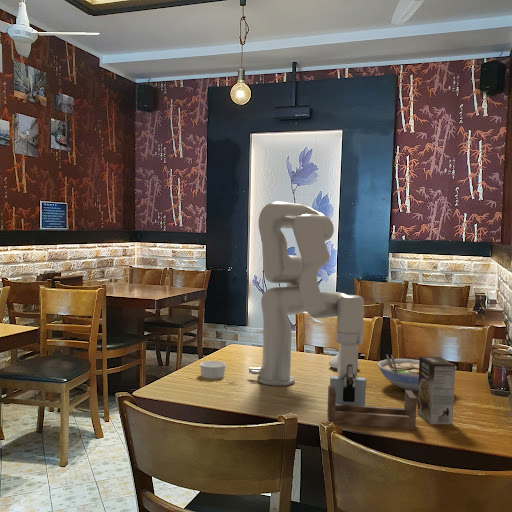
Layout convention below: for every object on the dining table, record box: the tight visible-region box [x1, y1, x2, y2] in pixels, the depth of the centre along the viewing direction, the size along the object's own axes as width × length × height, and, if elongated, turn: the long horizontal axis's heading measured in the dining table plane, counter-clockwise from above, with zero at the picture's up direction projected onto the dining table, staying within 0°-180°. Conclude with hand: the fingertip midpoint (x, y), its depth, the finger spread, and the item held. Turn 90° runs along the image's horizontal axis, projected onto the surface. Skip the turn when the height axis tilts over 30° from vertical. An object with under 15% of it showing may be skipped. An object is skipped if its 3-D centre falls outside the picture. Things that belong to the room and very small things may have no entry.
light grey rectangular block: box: [329, 375, 367, 406], centre depth 146 cm, size 10×3×8 cm, turn 84°
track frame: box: [327, 384, 418, 430], centre depth 133 cm, size 22×7×8 cm, turn 84°
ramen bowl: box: [377, 354, 419, 393], centre depth 166 cm, size 25×23×8 cm
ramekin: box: [199, 360, 227, 380], centre depth 174 cm, size 9×9×4 cm
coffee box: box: [416, 355, 456, 425], centre depth 137 cm, size 9×6×16 cm
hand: (347, 396), depth 146 cm, fingers open, 9 cm apart
